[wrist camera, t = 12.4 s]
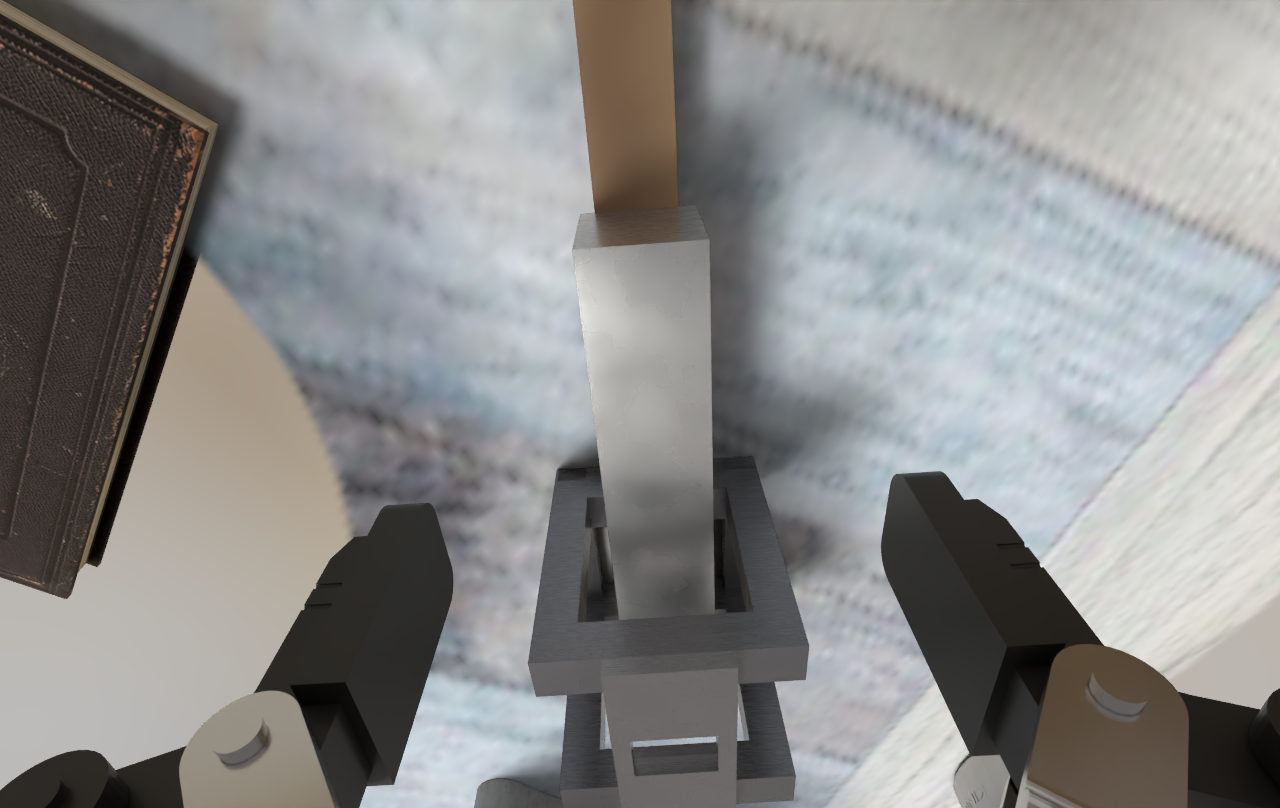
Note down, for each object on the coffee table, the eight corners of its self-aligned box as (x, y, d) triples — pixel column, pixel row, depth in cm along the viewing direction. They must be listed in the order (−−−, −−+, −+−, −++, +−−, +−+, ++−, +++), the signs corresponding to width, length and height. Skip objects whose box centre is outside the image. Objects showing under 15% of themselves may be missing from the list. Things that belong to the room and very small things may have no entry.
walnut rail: (649, -418, 14) (653, -476, 13) (684, 438, 27) (688, 466, 25) (536, -407, 15) (524, -464, 13) (622, 442, 27) (621, 471, 25)
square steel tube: (577, 214, 20) (567, 252, 17) (699, 204, 20) (714, 241, 16) (631, 668, 31) (632, 744, 28) (709, 663, 31) (719, 738, 28)
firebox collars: (753, 456, 27) (814, 663, 18) (749, 597, 32) (797, 817, 23) (556, 470, 27) (525, 681, 19) (580, 608, 32) (564, 831, 23)
